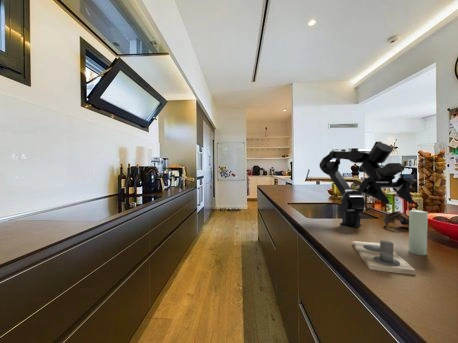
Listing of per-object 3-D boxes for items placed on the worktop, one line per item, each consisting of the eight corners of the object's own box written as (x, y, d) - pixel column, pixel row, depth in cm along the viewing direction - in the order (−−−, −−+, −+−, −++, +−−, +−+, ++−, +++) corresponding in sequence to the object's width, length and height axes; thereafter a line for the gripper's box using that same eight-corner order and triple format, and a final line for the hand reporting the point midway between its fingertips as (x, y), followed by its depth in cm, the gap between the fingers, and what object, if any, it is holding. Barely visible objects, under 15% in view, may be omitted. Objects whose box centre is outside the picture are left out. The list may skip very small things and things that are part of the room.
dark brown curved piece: (410, 233, 94) (398, 215, 96) (388, 237, 102) (377, 220, 103) (420, 222, 101) (408, 205, 102) (398, 226, 108) (388, 211, 110)
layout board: (352, 244, 80) (352, 226, 79) (385, 247, 77) (386, 228, 76) (369, 269, 60) (370, 245, 60) (415, 274, 58) (415, 249, 57)
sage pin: (405, 251, 73) (406, 211, 73) (412, 249, 75) (413, 209, 75) (422, 256, 69) (423, 213, 69) (429, 253, 71) (430, 212, 71)
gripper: (363, 155, 84) (389, 187, 73) (408, 156, 86) (440, 186, 75) (349, 177, 91) (371, 209, 80) (391, 177, 94) (418, 207, 83)
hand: (400, 202), depth 79 cm, fingers open, 9 cm apart
